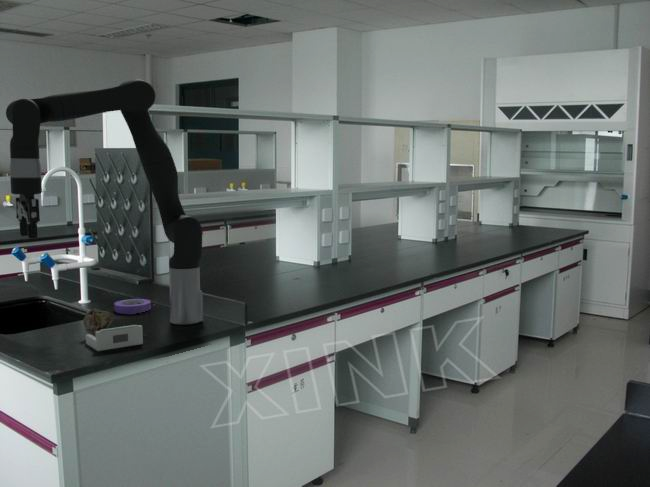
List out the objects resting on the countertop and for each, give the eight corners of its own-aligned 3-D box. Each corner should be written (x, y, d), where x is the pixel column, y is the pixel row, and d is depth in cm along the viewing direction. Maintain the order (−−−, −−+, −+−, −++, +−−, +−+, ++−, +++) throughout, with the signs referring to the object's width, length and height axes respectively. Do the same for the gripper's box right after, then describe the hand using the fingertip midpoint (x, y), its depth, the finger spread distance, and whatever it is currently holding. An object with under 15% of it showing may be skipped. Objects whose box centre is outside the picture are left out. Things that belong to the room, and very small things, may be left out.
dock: (129, 336, 192) (129, 318, 192) (143, 343, 185) (142, 325, 184) (85, 343, 185) (85, 324, 184) (97, 351, 177) (97, 331, 177)
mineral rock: (91, 340, 189) (90, 311, 188) (79, 338, 191) (78, 310, 190) (118, 331, 198) (117, 304, 198) (106, 330, 200) (106, 303, 199)
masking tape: (134, 318, 216) (133, 307, 216) (106, 315, 222) (106, 303, 221) (158, 312, 227) (158, 300, 226) (131, 308, 232) (131, 297, 232)
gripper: (48, 176, 175) (50, 238, 177) (33, 175, 187) (36, 234, 188) (17, 176, 171) (20, 240, 173) (4, 175, 182) (7, 235, 184)
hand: (28, 236), depth 180 cm, fingers open, 8 cm apart
